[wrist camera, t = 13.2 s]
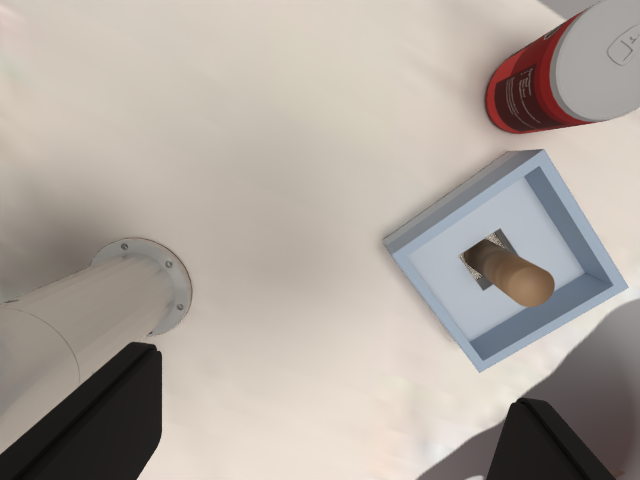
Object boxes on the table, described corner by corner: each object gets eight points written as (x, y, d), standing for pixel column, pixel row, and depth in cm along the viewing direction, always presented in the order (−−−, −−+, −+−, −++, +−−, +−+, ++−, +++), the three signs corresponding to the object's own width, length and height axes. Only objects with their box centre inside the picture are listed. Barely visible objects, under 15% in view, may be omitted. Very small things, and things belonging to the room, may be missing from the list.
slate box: (458, 341, 38) (479, 372, 33) (382, 240, 36) (391, 255, 30) (581, 267, 35) (628, 287, 30) (507, 151, 33) (544, 149, 27)
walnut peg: (474, 273, 36) (524, 314, 27) (458, 250, 36) (502, 283, 26) (501, 256, 36) (562, 291, 26) (485, 232, 35) (541, 259, 25)
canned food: (578, 65, 31) (706, 13, 20) (538, 145, 33) (635, 137, 22) (505, 38, 31) (596, -29, 20) (469, 120, 32) (534, 100, 22)
